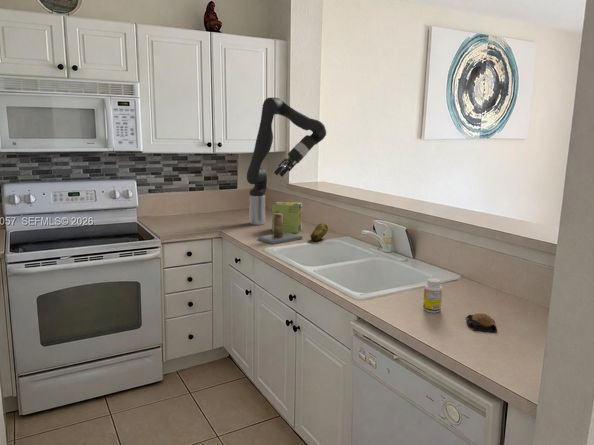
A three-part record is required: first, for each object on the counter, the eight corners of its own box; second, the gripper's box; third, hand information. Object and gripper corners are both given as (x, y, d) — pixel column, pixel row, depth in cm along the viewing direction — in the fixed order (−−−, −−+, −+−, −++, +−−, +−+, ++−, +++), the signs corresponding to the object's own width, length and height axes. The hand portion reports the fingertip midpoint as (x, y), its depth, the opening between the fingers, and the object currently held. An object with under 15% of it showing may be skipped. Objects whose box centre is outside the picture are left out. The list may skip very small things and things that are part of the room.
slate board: (258, 239, 250) (258, 236, 249) (286, 234, 262) (286, 231, 261) (273, 244, 240) (273, 241, 240) (302, 239, 252) (302, 236, 252)
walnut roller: (272, 236, 250) (271, 214, 247) (278, 235, 253) (278, 212, 250) (277, 238, 246) (277, 215, 244) (284, 236, 250) (284, 214, 247)
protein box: (298, 233, 266) (299, 205, 263) (271, 231, 269) (271, 204, 266) (302, 229, 276) (302, 202, 273) (276, 227, 279) (276, 201, 276)
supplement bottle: (427, 305, 160) (429, 276, 158) (443, 309, 157) (445, 279, 155) (420, 310, 156) (422, 280, 154) (436, 314, 153) (438, 283, 151)
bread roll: (463, 318, 151) (464, 307, 150) (492, 321, 150) (493, 309, 149) (469, 332, 141) (470, 320, 140) (500, 335, 139) (501, 323, 139)
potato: (304, 240, 250) (304, 225, 248) (321, 236, 258) (321, 221, 257) (315, 243, 244) (315, 227, 242) (332, 239, 253) (333, 224, 251)
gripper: (289, 146, 261) (269, 168, 259) (298, 148, 248) (277, 170, 246) (298, 156, 264) (278, 178, 262) (308, 158, 251) (287, 181, 249)
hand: (277, 174), depth 254 cm, fingers open, 8 cm apart
